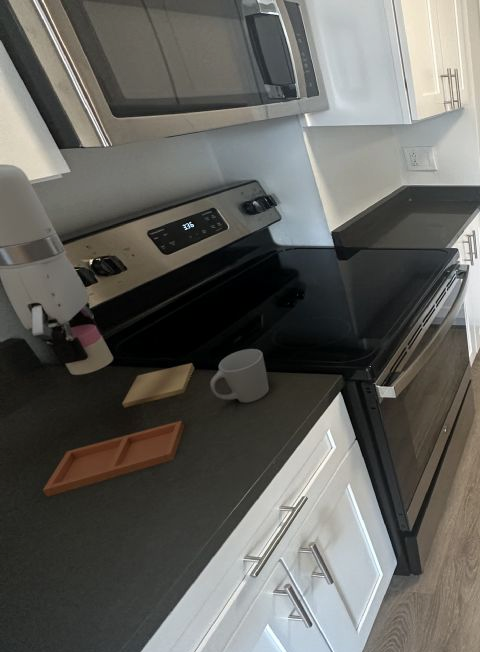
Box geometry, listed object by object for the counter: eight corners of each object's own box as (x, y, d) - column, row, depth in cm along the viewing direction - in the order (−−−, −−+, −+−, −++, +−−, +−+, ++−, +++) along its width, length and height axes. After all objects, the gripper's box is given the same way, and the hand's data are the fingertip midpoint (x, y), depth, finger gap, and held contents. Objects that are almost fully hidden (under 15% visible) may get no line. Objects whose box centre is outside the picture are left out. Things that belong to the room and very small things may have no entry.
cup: (281, 390, 88) (269, 356, 85) (230, 419, 81) (215, 383, 77) (262, 377, 92) (251, 344, 89) (212, 404, 85) (197, 369, 81)
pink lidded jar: (63, 378, 70) (43, 345, 67) (78, 360, 75) (60, 328, 72) (106, 369, 72) (88, 336, 69) (118, 352, 77) (102, 321, 74)
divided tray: (48, 498, 66) (42, 490, 66) (72, 459, 73) (67, 451, 73) (174, 461, 72) (170, 453, 71) (185, 428, 79) (181, 420, 79)
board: (125, 409, 85) (121, 403, 84) (140, 381, 93) (137, 375, 92) (185, 394, 88) (182, 388, 88) (194, 368, 96) (192, 362, 96)
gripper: (26, 238, 70) (79, 332, 78) (-45, 276, 56) (27, 386, 64) (84, 230, 73) (129, 322, 81) (29, 265, 59) (91, 373, 66)
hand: (84, 350), depth 72 cm, fingers closed on pink lidded jar, 5 cm apart
